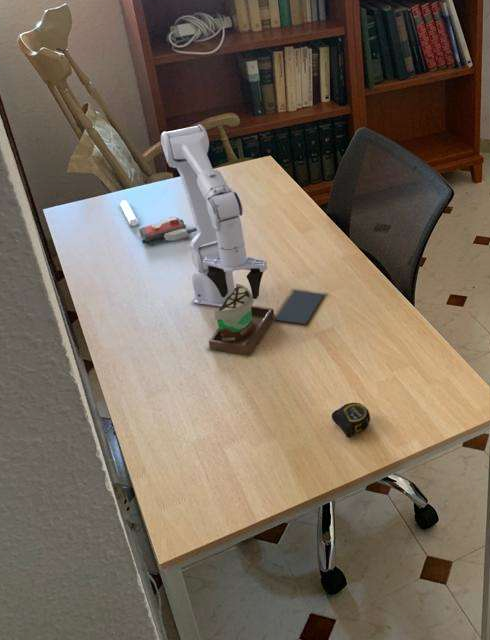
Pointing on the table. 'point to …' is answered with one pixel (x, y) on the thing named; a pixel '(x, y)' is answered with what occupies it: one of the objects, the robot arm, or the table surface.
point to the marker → (129, 213)
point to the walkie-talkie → (165, 231)
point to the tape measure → (352, 418)
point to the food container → (235, 315)
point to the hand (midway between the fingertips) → (240, 295)
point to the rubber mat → (299, 307)
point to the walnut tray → (245, 349)
